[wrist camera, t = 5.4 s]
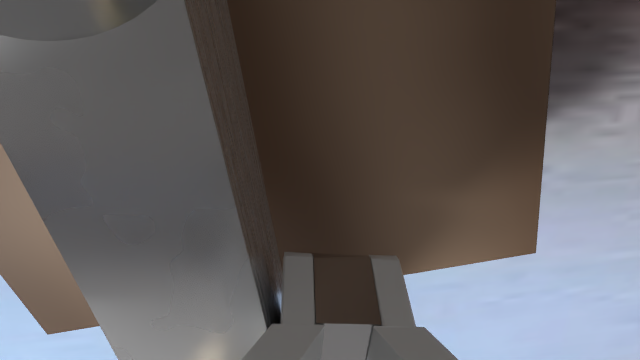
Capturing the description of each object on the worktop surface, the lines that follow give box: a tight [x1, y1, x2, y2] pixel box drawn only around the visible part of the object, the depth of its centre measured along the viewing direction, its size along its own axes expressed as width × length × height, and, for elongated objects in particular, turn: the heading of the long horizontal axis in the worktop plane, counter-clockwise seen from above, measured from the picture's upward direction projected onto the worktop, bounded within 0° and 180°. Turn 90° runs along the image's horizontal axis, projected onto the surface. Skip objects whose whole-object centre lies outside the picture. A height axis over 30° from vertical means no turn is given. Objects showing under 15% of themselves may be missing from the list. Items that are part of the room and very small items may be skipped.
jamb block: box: [0, 0, 556, 334], centre depth 11 cm, size 13×12×6 cm
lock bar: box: [0, 0, 283, 360], centre depth 7 cm, size 13×4×4 cm, turn 6°
